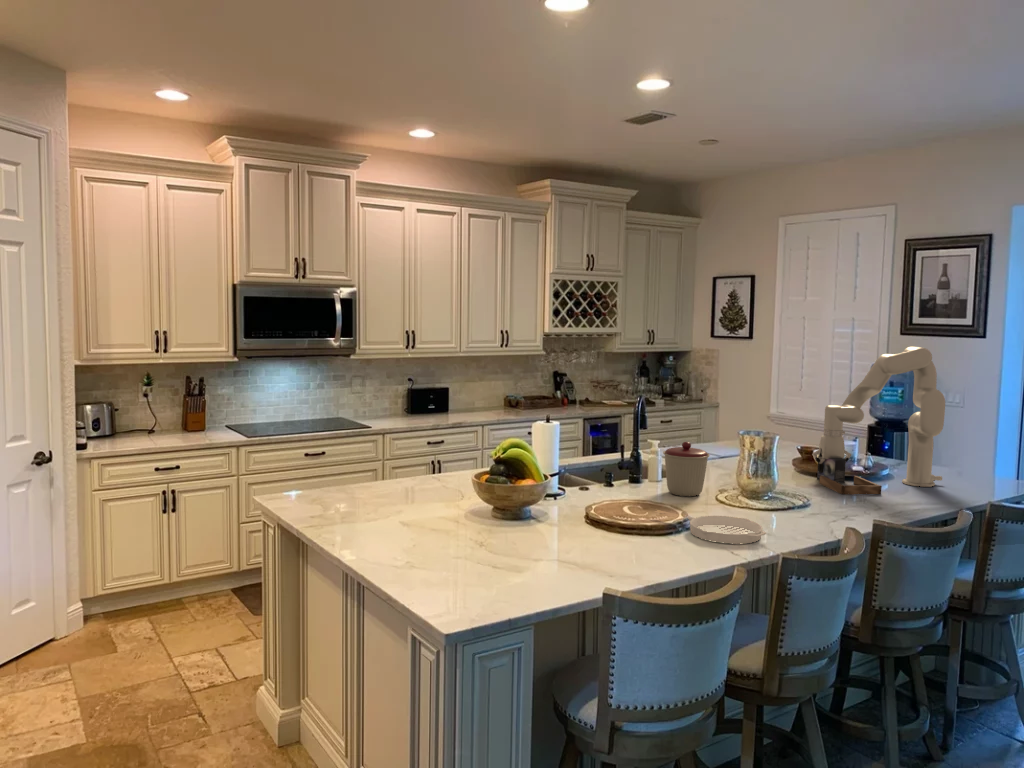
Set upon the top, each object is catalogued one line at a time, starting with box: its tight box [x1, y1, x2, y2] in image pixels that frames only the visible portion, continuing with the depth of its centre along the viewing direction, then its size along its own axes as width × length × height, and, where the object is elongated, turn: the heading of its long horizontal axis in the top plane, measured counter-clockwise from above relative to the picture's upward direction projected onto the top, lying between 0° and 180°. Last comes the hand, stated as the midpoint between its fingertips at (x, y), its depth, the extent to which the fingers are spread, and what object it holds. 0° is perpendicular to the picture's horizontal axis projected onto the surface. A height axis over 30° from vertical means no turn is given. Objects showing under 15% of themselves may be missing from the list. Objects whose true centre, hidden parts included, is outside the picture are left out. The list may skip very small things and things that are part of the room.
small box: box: [816, 455, 847, 484], centre depth 341 cm, size 11×6×10 cm, turn 21°
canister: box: [662, 441, 710, 497], centre depth 309 cm, size 18×18×21 cm
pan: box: [686, 515, 767, 545], centre depth 258 cm, size 24×41×4 cm, turn 42°
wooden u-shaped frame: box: [819, 475, 882, 495], centre depth 324 cm, size 16×20×4 cm
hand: (830, 472), depth 341 cm, fingers open, 8 cm apart
